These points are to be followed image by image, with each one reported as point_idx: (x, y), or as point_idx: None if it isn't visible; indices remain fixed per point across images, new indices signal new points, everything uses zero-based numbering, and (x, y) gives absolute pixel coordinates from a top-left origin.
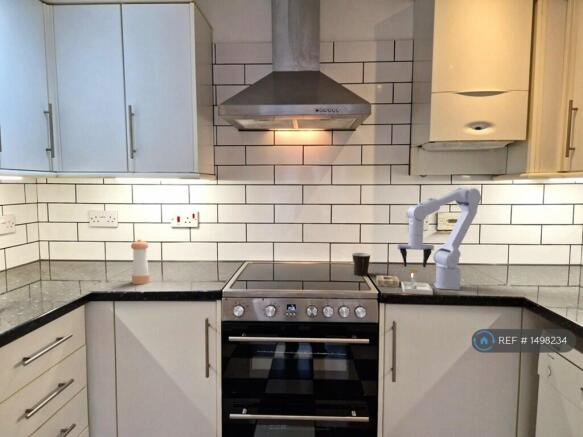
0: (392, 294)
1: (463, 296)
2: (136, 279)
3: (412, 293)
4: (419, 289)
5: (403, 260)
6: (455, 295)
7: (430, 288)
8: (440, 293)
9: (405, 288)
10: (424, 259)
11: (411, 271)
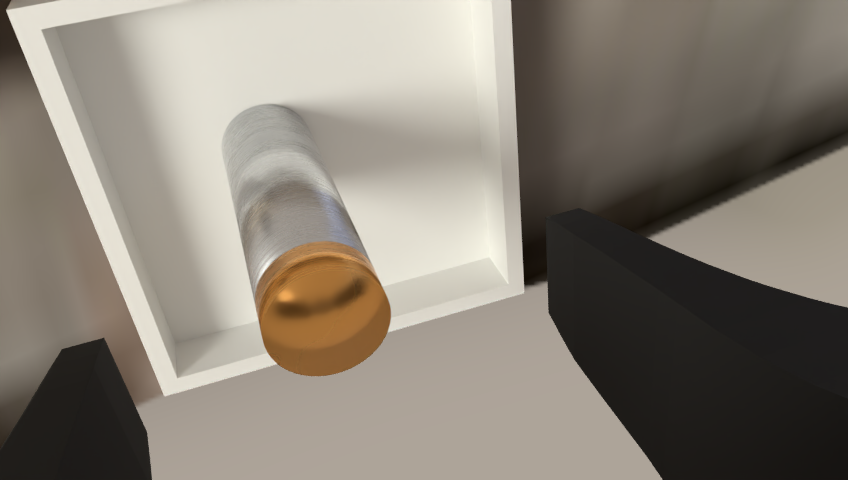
0: None
1: (808, 154)
2: None
3: None
4: None
5: (11, 459)
6: (742, 153)
7: (508, 227)
8: (602, 145)
9: (142, 166)
10: (659, 434)
11: (266, 341)
